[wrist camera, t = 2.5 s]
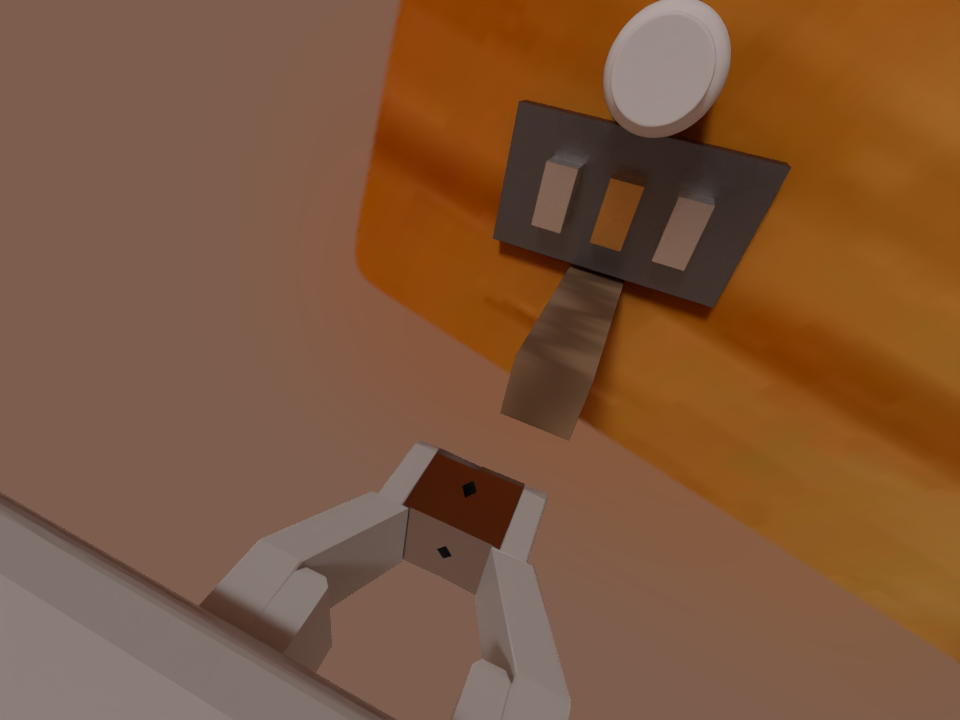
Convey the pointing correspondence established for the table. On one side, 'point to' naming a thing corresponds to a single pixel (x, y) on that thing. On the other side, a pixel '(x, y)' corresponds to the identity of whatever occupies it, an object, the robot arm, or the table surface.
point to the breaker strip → (665, 177)
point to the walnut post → (563, 352)
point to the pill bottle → (666, 67)
